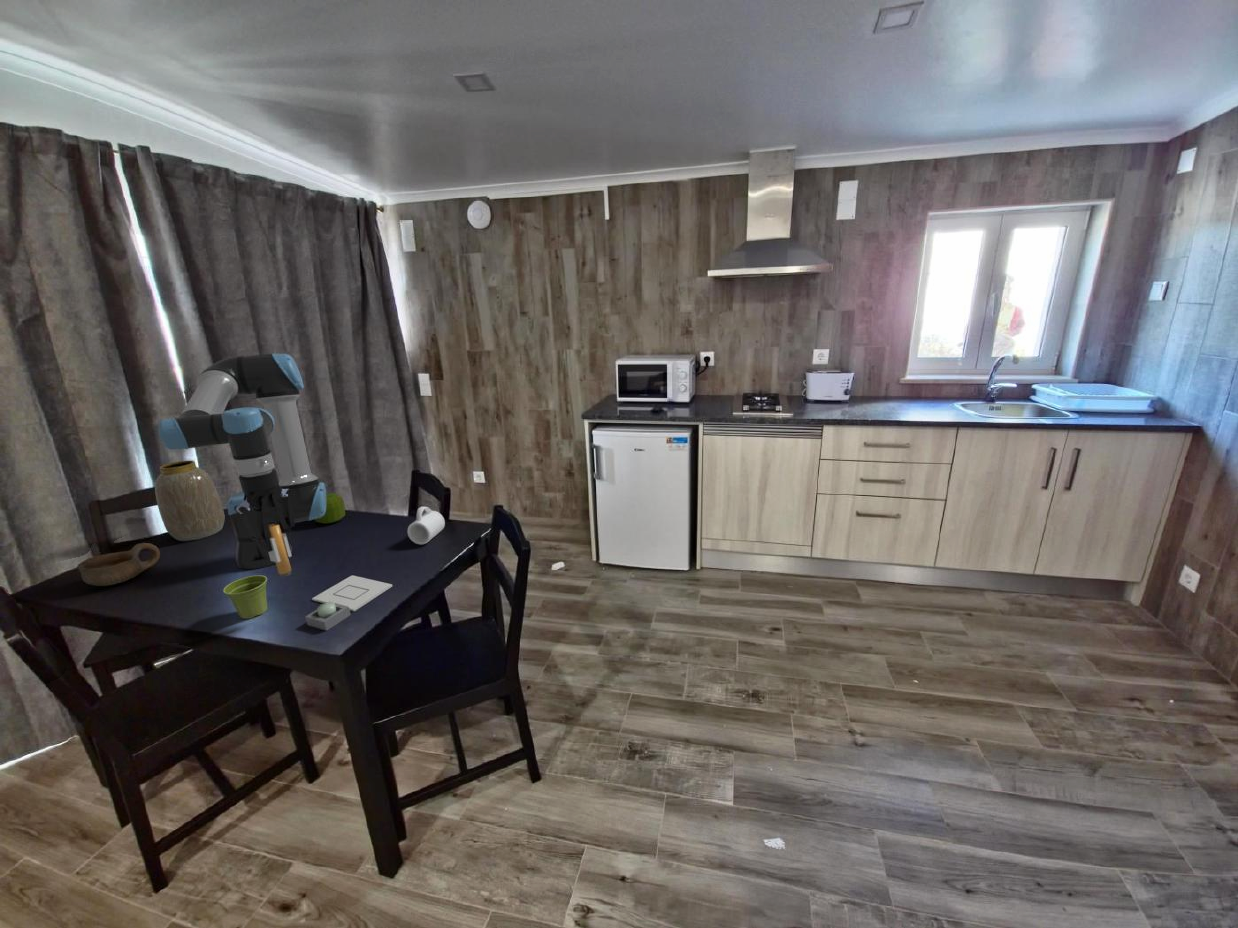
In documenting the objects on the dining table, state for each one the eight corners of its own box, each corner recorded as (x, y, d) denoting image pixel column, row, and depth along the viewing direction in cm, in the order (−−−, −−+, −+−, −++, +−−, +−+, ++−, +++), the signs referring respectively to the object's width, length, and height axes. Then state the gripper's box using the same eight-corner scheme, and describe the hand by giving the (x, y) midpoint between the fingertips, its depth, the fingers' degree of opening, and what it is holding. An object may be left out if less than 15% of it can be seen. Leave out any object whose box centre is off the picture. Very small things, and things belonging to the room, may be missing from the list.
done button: (315, 618, 127) (313, 609, 126) (329, 609, 131) (327, 600, 130) (326, 621, 126) (324, 612, 125) (340, 612, 129) (338, 603, 128)
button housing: (307, 624, 127) (305, 616, 126) (331, 609, 133) (329, 601, 132) (326, 630, 124) (324, 622, 124) (350, 614, 130) (348, 606, 130)
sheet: (312, 600, 138) (312, 598, 138) (352, 576, 149) (351, 575, 149) (354, 611, 132) (353, 609, 132) (392, 586, 143) (392, 584, 143)
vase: (201, 523, 194) (179, 457, 186) (240, 524, 192) (220, 457, 184) (156, 543, 178) (131, 472, 170) (198, 544, 176) (174, 472, 167)
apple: (307, 526, 187) (301, 499, 184) (328, 514, 197) (322, 489, 194) (334, 527, 185) (327, 500, 182) (353, 515, 195) (347, 489, 192)
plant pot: (246, 603, 138) (238, 576, 135) (282, 601, 138) (274, 573, 136) (224, 624, 129) (214, 595, 126) (262, 621, 129) (253, 592, 127)
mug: (446, 532, 177) (441, 500, 174) (431, 545, 168) (426, 512, 164) (425, 531, 179) (420, 500, 175) (409, 544, 169) (403, 511, 165)
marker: (277, 576, 129) (263, 527, 124) (287, 571, 131) (274, 522, 127) (284, 578, 128) (270, 528, 123) (294, 573, 130) (281, 524, 126)
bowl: (140, 556, 165) (136, 531, 162) (171, 571, 162) (168, 546, 159) (70, 584, 149) (64, 556, 145) (104, 601, 146) (99, 573, 143)
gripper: (233, 484, 113) (260, 575, 120) (297, 463, 126) (318, 547, 133) (213, 481, 115) (241, 570, 123) (277, 461, 129) (299, 543, 136)
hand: (281, 558), depth 128 cm, fingers closed on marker, 2 cm apart
